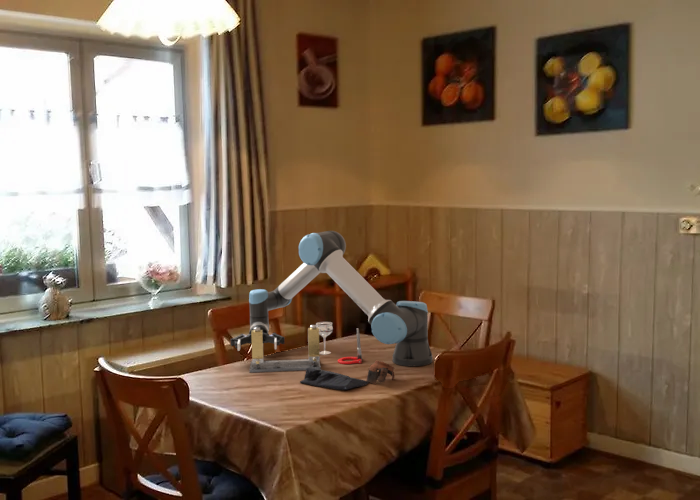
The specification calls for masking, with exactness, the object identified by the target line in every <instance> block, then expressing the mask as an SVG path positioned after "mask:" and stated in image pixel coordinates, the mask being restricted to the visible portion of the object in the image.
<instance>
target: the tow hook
mask: <svg viewBox="0 0 700 500" xmlns="http://www.w3.org/2000/svg"><path fill="white" fill-rule="evenodd" d="M356 347H357V348H356V352H357V356H344V357H343V356H342V357H340V358H339V359H337V363H338V364H340V365H351V364H362V361H363V354H362V348H361V337H360V329H359V328H356Z"/></svg>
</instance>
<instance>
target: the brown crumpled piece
mask: <svg viewBox="0 0 700 500" xmlns="http://www.w3.org/2000/svg"><path fill="white" fill-rule="evenodd" d="M388 374H389V375H390V376H391V380H392V381H395V367H394V366H392V365H391V364H389V363H386V362H383V361H381V360H375V361H374V362H373V363H372V364H371V365H370V366H369V368H368V370H367V375H366V380H365V381H367V382H368V384H369V383H370V384H373V385H374V386H375V385H377V381H378V383H380V384H381V383H385V381H386V378H387V376H388Z"/></svg>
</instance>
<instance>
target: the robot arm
mask: <svg viewBox="0 0 700 500" xmlns="http://www.w3.org/2000/svg"><path fill="white" fill-rule="evenodd" d="M346 247H347V244H346V240H345V238H344V237H343V235H342V234H341V233H339V232H337V231H335V230H327V231H320V232H312V233H310V234H309V233H308V234H306V235H304V236H303V237H302V239H300V242H299V244H298V256H299V258H300V259H301V261H302V264H300V265H299V266H298V268H295V269H296V270H294V271H293V272H292V273H291V274H290V275H288V277H287V278H286V279H284V280H283V281H282V282H281V283H280V284H279V285H278V286H277V287H276V288H275V289H274V290H272V291H268V290H266V289H263V288H262V289H261V288H259V289H257V288H256V289H252V290H250V292H249V295H248V298H249V299H248V302H249V303H248V304H249V305H248V306H249V332H248V334H247V335H246V334H244V333H240V334H239V335H237V336H235V337H233V338H230V346H231V347H235V349H237V352H239V351H240V350H241V347H242V345H246V344H251V345H252V337H251V331H252V330H254V327H260V330H262V332H263V344H267V343H270V344H274V350H277V348H278V346H281V345H285V343H286V342H285V337H284V336H283V335H280V334H277V332H273V333H271V334H270V333H269V330H270V324H269V311H272V310H276V309H279V308H280V309H281V308H285V307H286V306H289V305H290V304H291V303H292V300H293V298H294V297H295V296H296V295H297V294H298V293H299V292H300V291H302V290H303V289H304V288H305V287H306V286H307V285H308V284H309V283H310V282H311V281H313V280H314V279H315V278H316V277H317V276H318V275H320V274H327V275H328V276H329V278H331V279H332V280H333V281H334V282H335V283H336V284H337V286H339V288H340V289H342V291H343V292H344V293H345V294H346V295H348V297H349V298H350V299H351V300H352V301H353V302H354V303H355V304H356V305H357V306H358V307H359V309H361V310H362V311H363V312H364V314H365V315H367V317H368V319H367V320H368V321H367V322H368V324H369V325H370V328H371V333H372V335H373V336H374V337H375V339H376V340H377V341H378V342H380V343H382V344H385V345H392V344H395V346H394V347H395V348H394V350H393V353H392V363H393V364H395V365H399V366H403V367H421V366H422V367H423V366H427V365H430V364H432V363H433V354H432V350H431V348H430V345H429V339H428V334H429V333H428V332H429V331H428V326H429V325H428V323H429V322H428V314H429V311H428V306H427V303H425V302H423V301H415V300H414V301H412V300H411V301H410V300H399V301H397V302H396V303H395V302H393V301H392V300H391V299H385V298H384V297H382V295H381V294H380V293H379V292H378V291H377V290H376V289H375V288H374V287H373V286H372V285H371V284H370V283H369V282H368V281H367V280H366V279H365V278H364V277H363V276H362V275H361V274H360V273H359V272H358V271H357V270H356V269H355V268H354V267H353V266H352V265H351V264H350V263H349V262H348V261H347V260H346V259H345V258H344V254H345V253H346ZM240 352H241V351H240Z"/></svg>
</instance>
